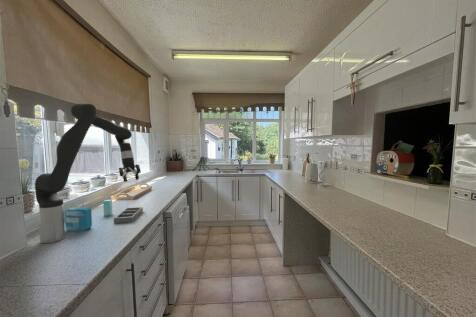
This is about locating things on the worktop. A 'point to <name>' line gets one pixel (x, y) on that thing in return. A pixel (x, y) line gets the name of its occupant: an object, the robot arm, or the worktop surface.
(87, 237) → the worktop surface
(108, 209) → the brushed teal metal block
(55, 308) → the worktop surface
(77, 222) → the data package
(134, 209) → the slot rack
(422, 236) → the worktop surface
